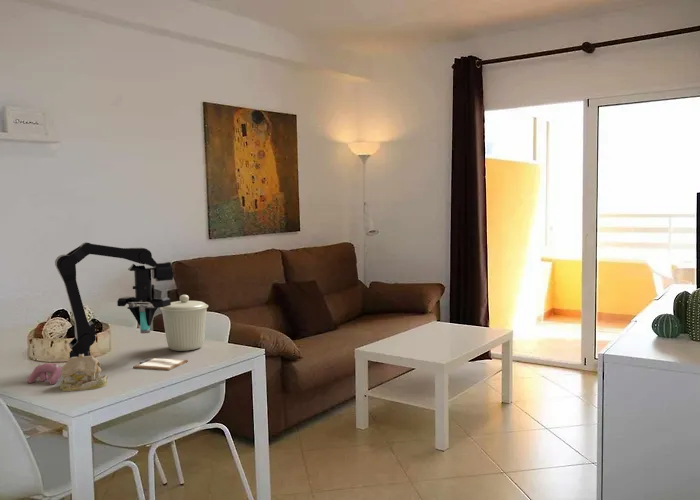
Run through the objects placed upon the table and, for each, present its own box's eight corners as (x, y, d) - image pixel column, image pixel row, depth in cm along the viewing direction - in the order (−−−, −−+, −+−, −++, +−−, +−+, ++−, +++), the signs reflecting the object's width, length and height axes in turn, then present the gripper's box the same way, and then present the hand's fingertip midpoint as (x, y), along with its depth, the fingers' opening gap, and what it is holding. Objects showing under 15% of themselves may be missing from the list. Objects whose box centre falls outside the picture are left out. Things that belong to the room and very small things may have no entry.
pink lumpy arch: (61, 387, 193) (67, 365, 196) (51, 384, 189) (57, 362, 192) (35, 385, 196) (41, 363, 198) (25, 382, 192) (31, 360, 194)
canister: (198, 341, 251) (196, 290, 249) (217, 348, 236) (215, 294, 235) (154, 347, 240) (152, 294, 238) (172, 356, 225) (170, 299, 224)
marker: (146, 333, 218) (145, 307, 218) (138, 333, 219) (137, 306, 219) (152, 331, 222) (151, 305, 221) (143, 331, 223) (142, 305, 222)
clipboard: (168, 370, 205) (168, 366, 205) (132, 368, 209) (132, 364, 209) (187, 361, 217) (187, 357, 217) (153, 359, 220) (153, 355, 220)
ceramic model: (53, 392, 182) (51, 359, 182) (65, 382, 194) (63, 351, 193) (102, 389, 184) (100, 357, 184) (111, 379, 196) (110, 348, 195)
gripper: (178, 280, 225) (179, 322, 226) (134, 279, 230) (136, 320, 231) (161, 284, 214) (162, 328, 215) (115, 283, 219) (117, 326, 220)
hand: (144, 325), depth 220 cm, fingers closed on marker, 3 cm apart
